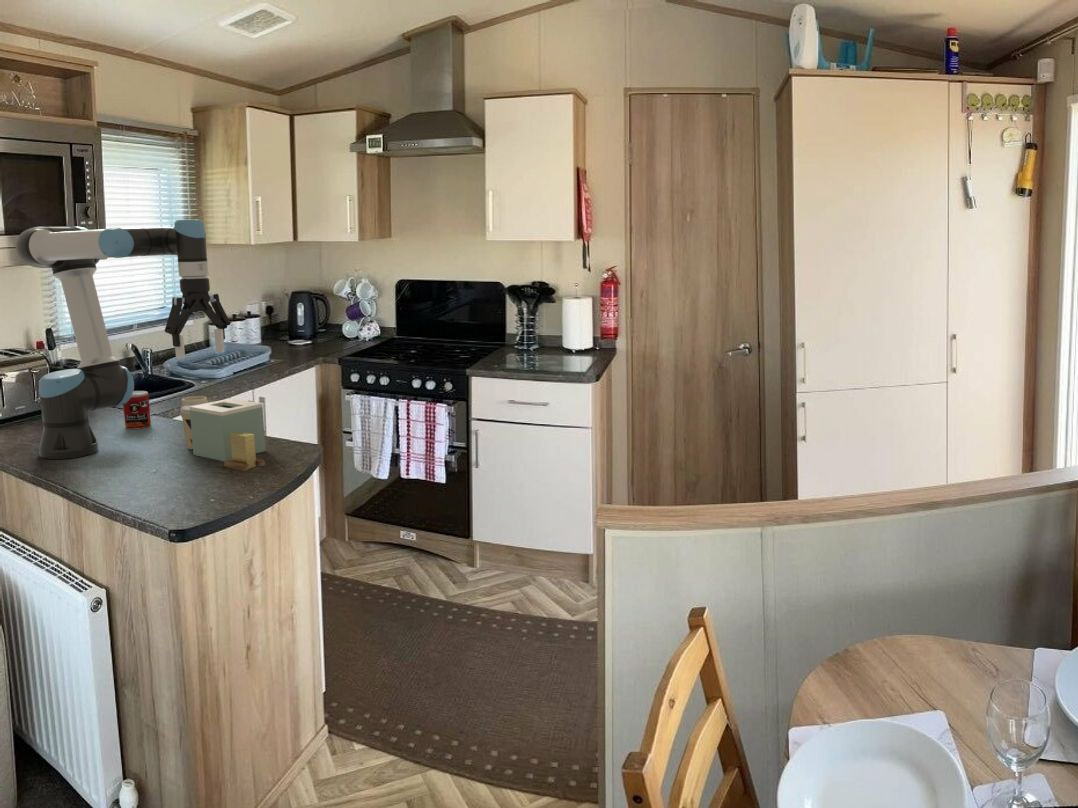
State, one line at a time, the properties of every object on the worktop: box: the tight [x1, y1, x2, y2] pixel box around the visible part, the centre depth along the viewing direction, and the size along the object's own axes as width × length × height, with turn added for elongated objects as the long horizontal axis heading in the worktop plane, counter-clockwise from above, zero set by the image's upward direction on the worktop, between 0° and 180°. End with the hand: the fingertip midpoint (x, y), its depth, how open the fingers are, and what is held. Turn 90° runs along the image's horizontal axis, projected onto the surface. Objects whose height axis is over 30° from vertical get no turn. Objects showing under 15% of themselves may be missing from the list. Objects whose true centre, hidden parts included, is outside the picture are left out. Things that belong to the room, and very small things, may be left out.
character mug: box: [180, 395, 210, 418], centre depth 275 cm, size 11×7×13 cm, turn 155°
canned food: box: [122, 390, 152, 429], centre depth 295 cm, size 8×8×11 cm
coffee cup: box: [180, 404, 200, 450], centre depth 268 cm, size 9×9×12 cm
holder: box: [223, 457, 266, 472], centre depth 248 cm, size 7×8×2 cm
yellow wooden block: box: [230, 431, 257, 469], centre depth 248 cm, size 3×6×9 cm, turn 57°
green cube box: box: [190, 397, 266, 462], centre depth 261 cm, size 14×14×14 cm
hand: (200, 355), depth 252 cm, fingers open, 13 cm apart
